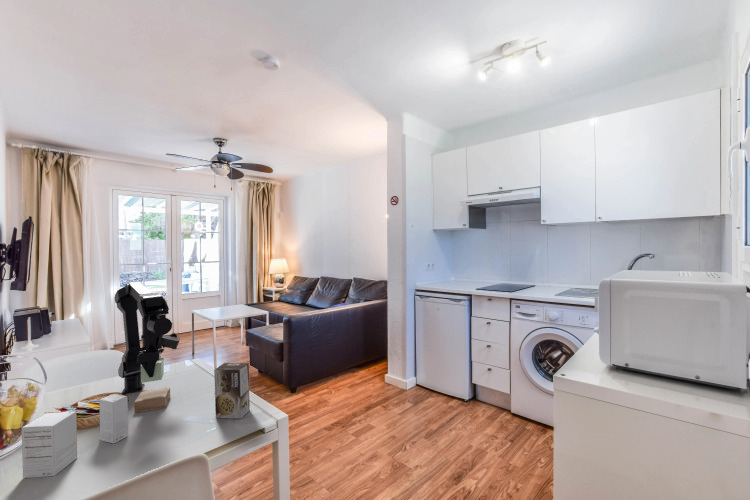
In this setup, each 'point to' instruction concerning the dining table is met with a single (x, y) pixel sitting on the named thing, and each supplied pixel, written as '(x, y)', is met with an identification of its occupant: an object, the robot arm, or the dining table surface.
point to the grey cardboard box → (232, 390)
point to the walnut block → (152, 399)
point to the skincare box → (113, 418)
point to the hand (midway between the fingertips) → (152, 374)
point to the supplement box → (49, 444)
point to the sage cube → (157, 372)
